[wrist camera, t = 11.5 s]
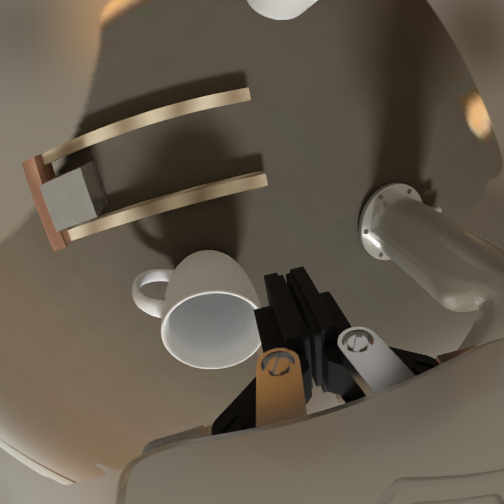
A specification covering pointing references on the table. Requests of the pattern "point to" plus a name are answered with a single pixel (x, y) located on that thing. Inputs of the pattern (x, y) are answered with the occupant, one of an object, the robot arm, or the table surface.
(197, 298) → the mug
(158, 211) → the u-shaped frame
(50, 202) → the block
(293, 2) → the cup
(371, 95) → the table surface
